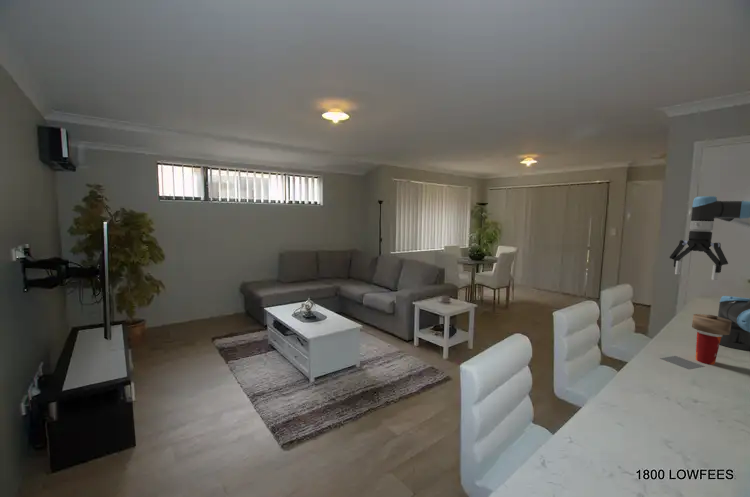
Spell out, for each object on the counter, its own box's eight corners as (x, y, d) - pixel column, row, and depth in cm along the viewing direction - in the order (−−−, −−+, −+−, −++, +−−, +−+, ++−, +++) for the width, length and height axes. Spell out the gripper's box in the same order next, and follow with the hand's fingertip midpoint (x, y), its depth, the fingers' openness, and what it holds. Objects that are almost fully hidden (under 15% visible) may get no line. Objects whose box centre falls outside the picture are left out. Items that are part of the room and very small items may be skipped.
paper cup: (723, 368, 133) (728, 334, 132) (700, 365, 135) (705, 332, 133) (708, 359, 141) (713, 327, 139) (687, 357, 143) (691, 325, 141)
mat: (675, 357, 143) (675, 355, 143) (704, 367, 133) (704, 366, 133) (659, 359, 139) (659, 358, 139) (688, 370, 130) (688, 369, 130)
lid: (702, 324, 143) (704, 310, 143) (736, 333, 133) (738, 319, 132) (685, 326, 140) (687, 312, 139) (719, 336, 129) (721, 321, 129)
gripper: (663, 229, 162) (658, 272, 164) (733, 232, 138) (726, 282, 141) (673, 229, 164) (668, 271, 167) (743, 232, 141) (736, 281, 143)
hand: (694, 277), depth 154 cm, fingers open, 13 cm apart
